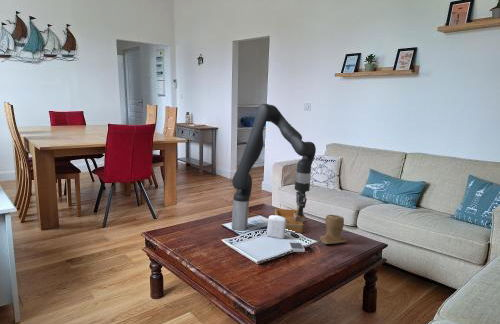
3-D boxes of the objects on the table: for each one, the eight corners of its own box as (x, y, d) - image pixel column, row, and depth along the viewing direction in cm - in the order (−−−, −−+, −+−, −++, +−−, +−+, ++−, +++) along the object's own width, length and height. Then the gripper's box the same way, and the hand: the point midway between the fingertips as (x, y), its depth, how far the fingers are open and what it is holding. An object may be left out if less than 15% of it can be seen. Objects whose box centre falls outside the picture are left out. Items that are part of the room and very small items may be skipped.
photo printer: (285, 237, 195) (287, 216, 193) (283, 239, 191) (285, 218, 189) (267, 233, 198) (269, 213, 196) (265, 236, 194) (267, 215, 192)
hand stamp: (295, 221, 175) (296, 206, 174) (293, 217, 180) (294, 203, 179) (304, 221, 175) (306, 207, 174) (302, 218, 180) (304, 204, 179)
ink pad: (290, 251, 176) (291, 248, 176) (288, 245, 184) (288, 242, 183) (304, 252, 176) (304, 248, 176) (301, 245, 184) (301, 242, 184)
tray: (274, 215, 233) (275, 207, 232) (296, 217, 233) (297, 209, 232) (277, 232, 203) (277, 223, 202) (302, 234, 202) (303, 225, 202)
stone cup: (335, 236, 202) (338, 211, 199) (349, 244, 191) (352, 218, 189) (314, 238, 196) (316, 213, 193) (326, 247, 185) (329, 220, 182)
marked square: (305, 252, 176) (305, 251, 176) (301, 245, 184) (301, 245, 184) (320, 252, 177) (320, 252, 177) (316, 246, 185) (316, 245, 185)
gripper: (292, 177, 181) (289, 209, 184) (298, 183, 167) (295, 218, 170) (306, 178, 181) (303, 210, 184) (313, 184, 168) (310, 218, 170)
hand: (299, 213), depth 177 cm, fingers closed on hand stamp, 3 cm apart
